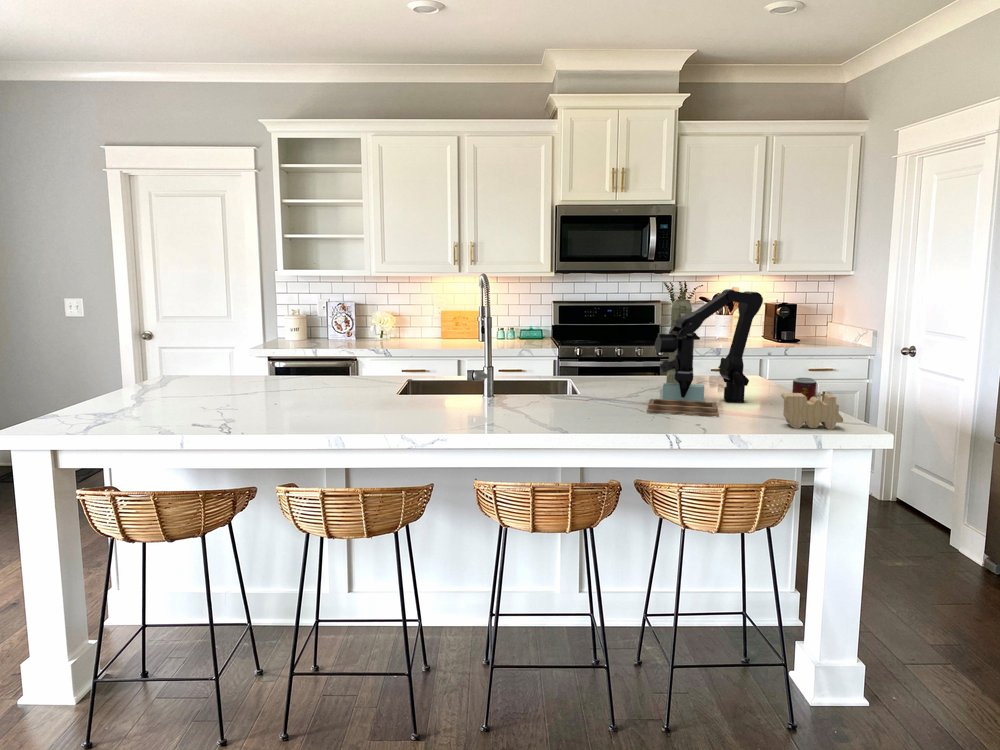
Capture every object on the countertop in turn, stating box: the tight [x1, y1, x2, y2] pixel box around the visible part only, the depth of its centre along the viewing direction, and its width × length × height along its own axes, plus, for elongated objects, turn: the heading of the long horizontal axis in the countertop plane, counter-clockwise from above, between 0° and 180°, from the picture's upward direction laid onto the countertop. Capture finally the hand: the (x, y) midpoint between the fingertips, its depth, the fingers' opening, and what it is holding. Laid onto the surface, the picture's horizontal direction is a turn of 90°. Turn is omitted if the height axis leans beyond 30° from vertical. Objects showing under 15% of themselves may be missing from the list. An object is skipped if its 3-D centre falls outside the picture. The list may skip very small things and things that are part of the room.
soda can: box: [791, 377, 818, 401], centre depth 234 cm, size 7×7×12 cm
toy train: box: [780, 392, 844, 430], centre depth 219 cm, size 6×17×10 cm, turn 82°
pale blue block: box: [659, 382, 705, 402], centre depth 255 cm, size 15×5×6 cm, turn 75°
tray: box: [645, 398, 720, 417], centre depth 241 cm, size 23×13×2 cm, turn 75°
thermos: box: [666, 299, 693, 384], centre depth 275 cm, size 9×12×35 cm
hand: (683, 396), depth 255 cm, fingers closed on pale blue block, 5 cm apart
